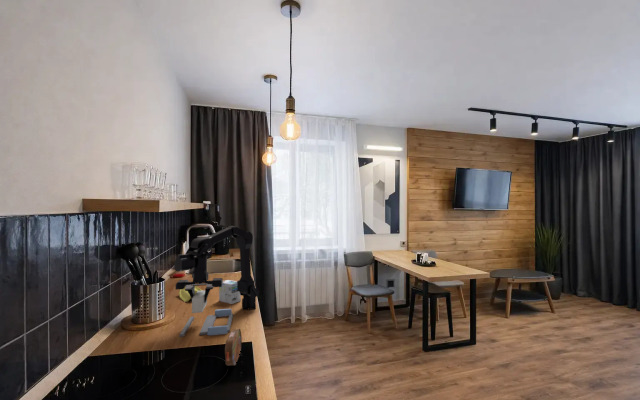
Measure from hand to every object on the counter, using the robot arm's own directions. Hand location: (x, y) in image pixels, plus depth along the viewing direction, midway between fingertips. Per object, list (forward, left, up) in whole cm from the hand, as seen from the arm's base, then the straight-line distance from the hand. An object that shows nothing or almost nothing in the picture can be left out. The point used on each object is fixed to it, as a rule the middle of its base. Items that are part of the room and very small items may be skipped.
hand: (199, 303), depth 128 cm
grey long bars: (-4, 0, -10) cm, 10 cm away
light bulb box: (-10, -34, -10) cm, 37 cm away
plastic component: (+13, -48, -10) cm, 50 cm away
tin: (-17, +33, -10) cm, 38 cm away
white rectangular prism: (0, 0, -2) cm, 2 cm away
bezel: (-9, 0, -10) cm, 13 cm away
